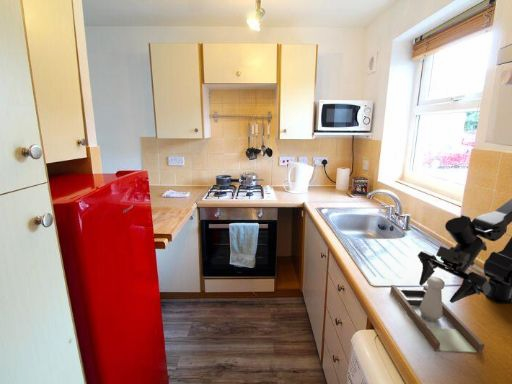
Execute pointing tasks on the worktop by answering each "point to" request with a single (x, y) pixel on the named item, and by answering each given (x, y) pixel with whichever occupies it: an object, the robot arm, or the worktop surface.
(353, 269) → the worktop surface
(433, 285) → the salt shaker
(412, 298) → the black tray
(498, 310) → the worktop surface
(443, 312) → the walnut channel
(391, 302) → the worktop surface
